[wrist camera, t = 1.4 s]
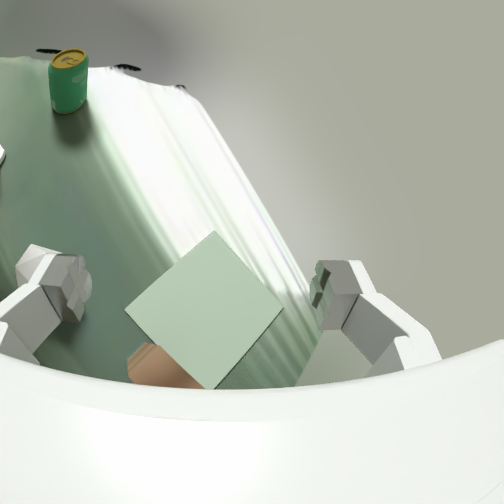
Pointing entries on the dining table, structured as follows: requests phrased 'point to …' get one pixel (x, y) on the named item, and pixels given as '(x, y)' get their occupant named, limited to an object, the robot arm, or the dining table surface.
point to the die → (30, 263)
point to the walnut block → (158, 369)
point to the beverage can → (68, 80)
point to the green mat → (206, 310)
